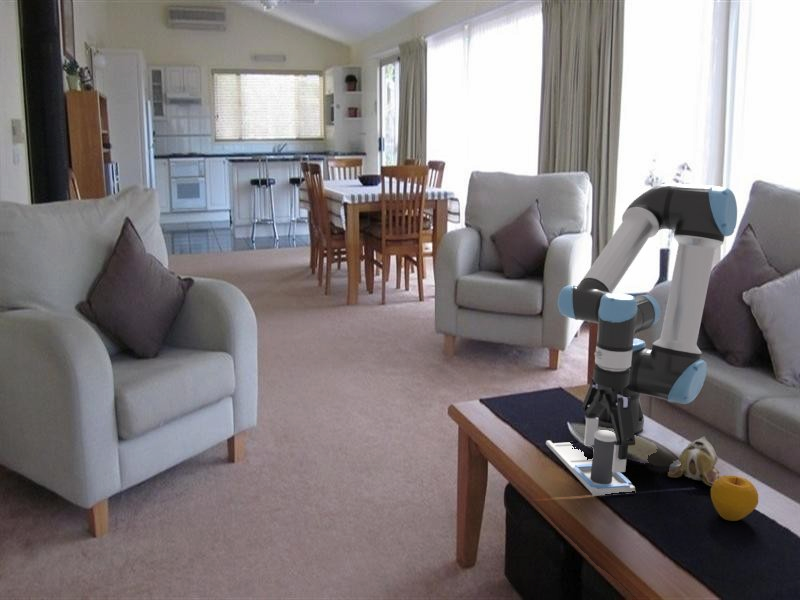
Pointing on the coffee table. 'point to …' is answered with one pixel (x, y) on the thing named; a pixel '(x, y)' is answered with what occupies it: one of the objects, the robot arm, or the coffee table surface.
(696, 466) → the ceramic sculpture
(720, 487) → the apple
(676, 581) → the coffee table surface
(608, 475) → the grey and white cylinder
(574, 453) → the white divided tray
